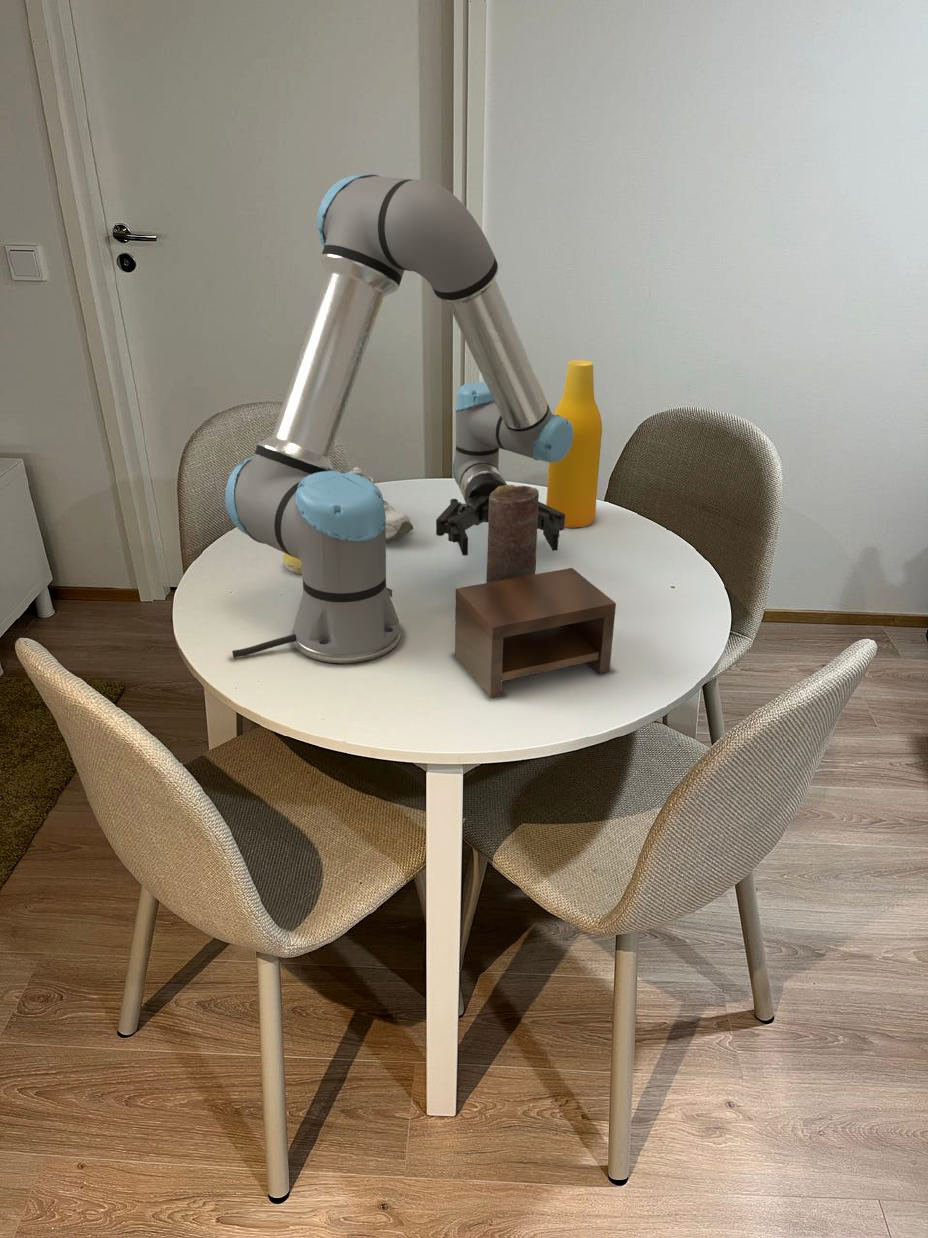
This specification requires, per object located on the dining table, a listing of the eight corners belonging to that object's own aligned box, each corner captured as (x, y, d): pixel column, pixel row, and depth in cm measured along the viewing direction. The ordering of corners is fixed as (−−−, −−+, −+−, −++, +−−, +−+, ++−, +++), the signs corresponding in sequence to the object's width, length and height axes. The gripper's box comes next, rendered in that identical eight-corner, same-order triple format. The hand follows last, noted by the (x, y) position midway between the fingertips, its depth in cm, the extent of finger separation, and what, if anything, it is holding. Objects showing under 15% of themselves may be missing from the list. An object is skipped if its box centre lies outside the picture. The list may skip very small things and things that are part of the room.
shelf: (490, 698, 128) (492, 627, 123) (454, 655, 138) (455, 588, 133) (609, 671, 134) (616, 603, 129) (567, 632, 144) (572, 567, 139)
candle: (518, 630, 144) (523, 502, 135) (475, 617, 148) (478, 492, 138) (542, 610, 150) (549, 486, 141) (501, 598, 154) (505, 476, 144)
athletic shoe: (392, 552, 168) (400, 483, 164) (297, 522, 180) (303, 457, 177) (428, 547, 176) (437, 481, 172) (335, 518, 188) (341, 456, 185)
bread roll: (276, 562, 164) (274, 540, 162) (326, 551, 168) (325, 530, 166) (295, 581, 158) (293, 558, 156) (346, 569, 162) (345, 547, 160)
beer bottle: (582, 532, 177) (594, 371, 164) (536, 522, 181) (544, 364, 168) (602, 516, 184) (616, 361, 171) (558, 506, 188) (567, 354, 175)
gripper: (557, 511, 167) (590, 563, 148) (412, 518, 163) (427, 571, 145) (560, 469, 163) (594, 517, 145) (411, 475, 160) (426, 524, 141)
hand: (510, 544), depth 145 cm, fingers open, 13 cm apart
